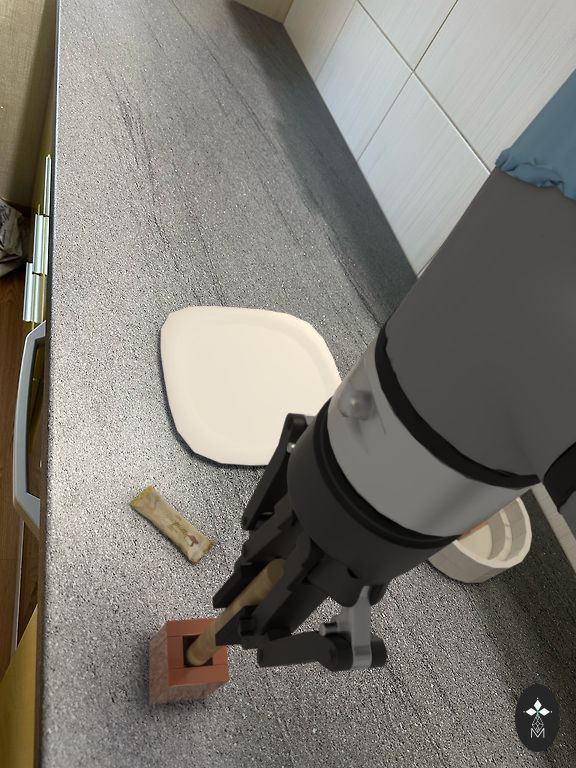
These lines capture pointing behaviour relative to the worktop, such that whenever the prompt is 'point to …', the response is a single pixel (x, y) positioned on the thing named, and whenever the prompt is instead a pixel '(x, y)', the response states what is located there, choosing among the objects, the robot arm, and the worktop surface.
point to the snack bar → (172, 524)
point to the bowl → (488, 547)
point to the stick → (233, 613)
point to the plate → (242, 378)
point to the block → (472, 531)
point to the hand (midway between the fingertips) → (232, 620)
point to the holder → (168, 664)
